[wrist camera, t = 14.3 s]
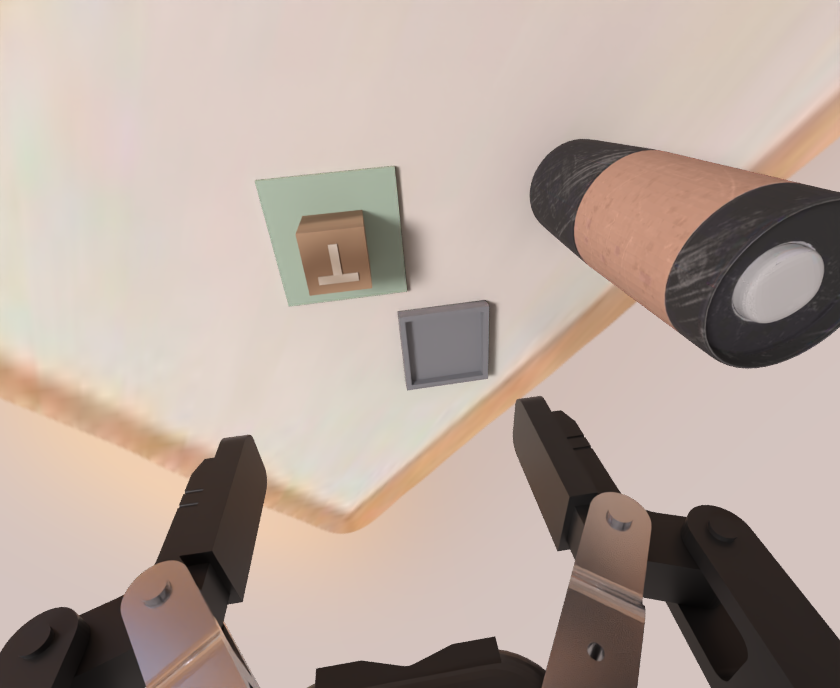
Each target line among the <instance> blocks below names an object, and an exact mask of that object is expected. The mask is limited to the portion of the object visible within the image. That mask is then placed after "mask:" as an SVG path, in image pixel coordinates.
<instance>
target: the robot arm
mask: <svg viewBox="0 0 840 688" xmlns="http://www.w3.org/2000/svg"><path fill="white" fill-rule="evenodd" d="M513 443H514V448H515V451H516V454H517V457H518V458H519V461H520V463H521V466H522V468H523V471H524V473H525V475H526V478H527V480H528V483H529V485H530V487H531V490H532V492H533V494H534V497H535V499H536V501H537V504H538V506H539V509H540V511H541V513H542V516H543V518H544V520H545V522H546V525H547V527H548V529H549V532H550V534H551V536H552V539H553V541H554V544H555V546H556V549H557V551H562V550H568V549H570V550H571V552H572V554H573V557H574V559H575V563H574V567H573V571H572V575H571V579H570V582H569V586H568V590H567V594H566V598H565V601H564V605H563V608H562V612H561V616H560V620H559V623H558V627H557V631H556V635H555V639H554V642H553V646H552V650H551V653H550V658H549V661H548V665H547V669H546V670H544V669H543V668H542V667H540V666H539V665H538V664H536V663H534V662H533V661H531V660H529V659H527V658H525V657H523V656H521V655H518V654H515V653H512V652H509V651H504V650H498V646H497V642H496V638H495V637H490V638H484V639H479V640H473V641H468V642H462V643H456V644H452V645H450V646H448V647H446V648H444V649H442V650H440V651H438V652H436V653H434V654H432V655H431V656H429V657H427V658H425V659H423V660H421V661H419V662H417V663H415V664H413V665H411V666H398V665H391V664H390V665H389V664H383V663H375V662H368V661H356V662H351V663H345V664H340V665H334V666H328V667H323V668H318V669H316V680H315V684H313V685H311V686H310V687H308V688H637V685H638V676H639V667H640V658H641V650H642V642H643V633H644V624H645V606H644V605H643V604H642V599H643V597H644V598H649V599H655V600H661V601H666V603H667V605H668V607H669V609H670V611H671V613H672V615H673V617H674V618H675V620H676V622H677V624H678V626H679V628H680V630H681V632H682V634H683V635H684V637H685V639H686V641H687V643H688V645H689V647H690V649H691V651H692V653H693V654H694V656H695V658H696V660H697V662H698V664H699V666H700V668H701V670H702V671H703V673H704V675H705V677H706V679H707V681H708V683H709V685H710V687H711V688H840V640H839V639H838V637H837V636H836V635H835V633H834V632H833V631H832V630H831V628H829V626H828V625H827V623H826V622H825V621H824V620H823V618H822V617H821V616H820V615H819V614H818V612H817V611H816V610H815V608H814V607H813V606H812V605H811V603H810V602H809V601H808V600H807V598H806V597H805V596H804V595H803V593H802V592H801V591H800V590H799V588H798V587H797V586H796V585H795V583H794V582H793V581H792V580H791V578H790V577H789V576H788V575H787V573H786V572H785V571H784V570H783V568H782V567H781V566H780V564H779V563H778V562H777V561H776V560H775V558H774V557H773V556H772V554H771V553H770V552H769V551H768V549H767V548H766V547H765V546H764V544H763V543H762V542H761V541H760V539H759V538H758V537H757V536H756V534H755V533H754V532H753V531H752V530H751V528H750V527H749V526H748V525H747V524H746V523H745V522H744V521H743V520H742V519H741V518H739V517H738V516H736V515H735V514H733V513H731V512H730V511H727V510H725V509H722V508H720V507H716V506H710V505H701V506H697V507H695V508H693V509H692V510H691V511H690V512H689V514H688V516H687V517H683V516H676V515H668V514H662V513H655V512H650V511H648V510H645V509H644V508H643V507H642V506H641V505H640V504H639V503H638V502H636V501H635V500H634V499H632V498H630V497H628V496H626V495H623V494H621V492H620V491H619V490H618V488H617V487H616V485H615V483H614V482H613V481H612V479H611V477H610V476H609V474H608V472H607V471H606V469H605V468H604V466H603V465H602V463H601V461H600V460H599V458H598V457H597V455H596V453H595V452H594V450H593V449H591V446H590V444H589V442H588V441H587V439H586V438H585V437H584V435H583V433H582V431H581V430H580V428H579V427H578V425H577V423H576V422H575V421H574V420H573V419H571V418H570V417H569V416H568V415H566V414H565V413H564V412H563V411H553V412H551V410H550V408H549V407H548V405H547V403H546V401H545V400H544V398H543V397H542V396H537V397H530V398H522V399H517V400H516V404H515V415H514V427H513ZM266 488H267V475H266V470H265V467H264V464H263V462H262V459H261V457H260V454H259V452H258V449H257V447H256V444H255V442H254V439H253V437H252V436H251V435H244V436H236V437H229V438H223V439H222V440H221V442H220V444H219V447H218V450H217V452H216V455H215V458H209V459H204V461H203V462H202V463H201V464H200V465H199V466H198V468H197V469H196V470H195V471H194V472H193V473H192V475H191V477H190V480H189V482H188V484H187V487H186V489H185V494H183V497H182V500H181V502H180V504H179V505H180V507H179V508H178V509H177V512H176V514H175V517H174V519H173V521H172V524H171V527H170V529H169V531H168V534H167V536H166V539H165V541H164V544H163V546H162V549H161V551H160V554H159V556H158V559H157V561H156V563H155V565H154V566H152V567H150V568H148V569H147V570H145V571H144V572H143V573H141V574H140V575H139V576H138V577H137V578H136V579H135V580H134V581H133V582H132V583H131V585H130V586H129V587H128V589H127V591H126V592H125V594H124V595H122V596H121V597H119V598H117V599H114V600H112V601H110V602H108V603H105V604H103V605H101V606H99V607H97V608H94V609H92V610H90V611H88V612H86V613H83V614H81V615H78V614H77V613H76V612H75V611H73V610H72V609H70V608H67V607H59V608H54V609H50V610H48V611H45V612H43V613H41V614H39V615H37V616H36V617H34V618H33V619H31V620H30V621H28V622H27V623H26V624H24V625H23V626H22V627H21V628H20V629H19V630H18V631H17V632H16V633H15V634H14V635H13V636H12V637H11V638H10V639H9V641H8V642H7V643H6V645H5V646H4V648H3V649H2V651H1V652H0V688H145V687H146V688H260V687H259V685H258V683H257V681H256V680H255V678H254V676H253V674H252V672H251V670H250V669H249V667H248V665H247V663H246V661H245V659H244V658H243V656H242V654H241V652H240V650H239V648H238V646H237V645H236V643H235V641H234V639H233V637H232V635H231V634H230V632H229V630H228V628H227V626H226V624H225V623H224V617H225V613H226V609H227V605H228V604H233V603H239V602H243V598H244V593H245V588H246V583H247V579H248V574H249V570H250V564H251V560H252V555H253V550H254V546H255V541H256V536H257V531H258V527H259V522H260V517H261V513H262V508H263V503H264V498H265V494H266Z"/></svg>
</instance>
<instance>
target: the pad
mask: <svg viewBox="0 0 840 688" xmlns="http://www.w3.org/2000/svg"><path fill="white" fill-rule="evenodd" d="M255 184H256V188H257V191H258V195H259V199H260V202H261V206H262V210H263V213H264V217H265V221H266V224H267V228H268V232H269V235H270V239H271V243H272V246H273V250H274V254H275V257H276V261H277V265H278V268H279V272H280V276H281V279H282V283H283V287H284V290H285V294H286V298H287V301H288V305H289V306H297V305H305V304H313V303H320V302H328V301H336V300H344V299H352V298H360V297H368V296H376V295H384V294H392V293H399V292H407V286H406V276H405V266H404V256H403V246H402V236H401V226H400V216H399V206H398V196H397V186H396V176H395V166H387V167H377V168H367V169H358V170H348V171H339V172H329V173H319V174H310V175H300V176H290V177H281V178H271V179H261V180H255ZM354 210H362V211H363V218H364V225H365V232H366V239H367V246H368V253H369V260H370V268H371V279H372V288H370V289H362V290H354V291H345V292H337V293H329V294H321V295H312V296H310V295H309V290H308V286H307V282H306V277H305V273H304V269H303V265H302V260H301V256H300V252H299V248H298V243H297V239H296V235H295V234H296V231H297V229H298V226H299V223H300V221H301V218H302V216H307V215H317V214H326V213H335V212H345V211H354Z"/></svg>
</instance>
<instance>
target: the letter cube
mask: <svg viewBox="0 0 840 688" xmlns="http://www.w3.org/2000/svg"><path fill="white" fill-rule="evenodd" d="M295 235H296V239H297V243H298V248H299V252H300V256H301V260H302V265H303V269H304V273H305V277H306V282H307V286H308V290H309V295H310V296H312V295H321V294H329V293H337V292H345V291H354V290H362V289H370V288H372V279H371V268H370V260H369V253H368V246H367V239H366V232H365V225H364V218H363V211H362V210H354V211H345V212H335V213H326V214H317V215H307V216H302V218H301V221H300V223H299V226H298V229H297V231H296V234H295Z"/></svg>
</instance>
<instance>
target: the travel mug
mask: <svg viewBox="0 0 840 688" xmlns="http://www.w3.org/2000/svg"><path fill="white" fill-rule="evenodd" d="M530 203H531V208H532V211H533V213H534V215H535V217H536V218H537V220H538V221H539V222H540V223H541V224H542V225H543V226H544V227H545V228H546V229H547V230H548V231H549V232H550V233H551V234H553V235H554V236H555V237H556V238H557V239H558V240H560V241H561V242H562V243H563V244H564V245H565V246H566V247H568V248H569V249H570V250H571V251H572V252H573V253H575V254H576V255H577V256H578V257H579V258H580V259H582V260H583V261H584V262H585V263H586V264H588V265H589V266H590V267H591V268H593V269H594V270H595V271H597V272H598V273H599V274H601V275H602V276H603V277H605V278H606V279H607V280H609V281H610V282H611V283H613V284H614V285H616V286H617V287H618V288H620V289H621V290H622V291H624V292H625V293H626V294H628V295H629V296H630V297H632V298H633V299H634V300H636V301H637V302H638V303H640V304H641V305H642V306H644V307H645V308H647V309H648V310H649V311H650V312H652V313H653V314H655V315H656V316H657V317H659V318H660V319H661V320H663V321H664V322H665V323H667V324H668V325H669V326H671V327H672V328H673V329H675V330H676V331H678V332H679V333H680V334H682V335H683V336H684V337H686V338H687V339H688V340H689V341H691V342H692V343H693V344H695V345H696V346H698V347H699V348H700V349H702V350H703V351H704V352H706V353H707V354H708V355H710V356H711V357H713V358H714V359H716V360H717V361H719V362H722V363H724V364H726V365H729V366H733V367H738V368H759V367H766V366H770V365H774V364H778V363H780V362H783V361H786V360H788V359H791V358H793V357H795V356H798V355H800V354H801V353H803V352H805V351H807V350H808V349H810V348H812V347H814V346H815V345H817V344H818V343H820V342H821V341H823V340H824V339H826V338H827V337H828V336H830V335H831V334H832V333H833V332H835V331H836V330H837V329H838V328H839V327H840V192H835V191H831V190H827V189H822V188H818V187H814V186H810V185H805V184H801V183H797V182H792V181H788V180H784V179H780V178H776V177H771V176H767V175H763V174H758V173H754V172H750V171H746V170H741V169H737V168H733V167H729V166H724V165H720V164H716V163H712V162H707V161H703V160H699V159H695V158H690V157H686V156H682V155H678V154H673V153H669V152H665V151H660V150H654V149H648V148H642V147H635V146H629V145H623V144H617V143H610V142H604V141H598V140H590V139H578V140H573V141H569V142H567V143H564V144H562V145H560V146H558V147H557V148H555V149H554V150H553V151H551V152H550V153H549V154H548V155H547V156H546V157H545V158H544V160H543V161H542V162H541V164H540V165H539V167H538V168H537V170H536V172H535V174H534V177H533V180H532V183H531V188H530Z"/></svg>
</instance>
